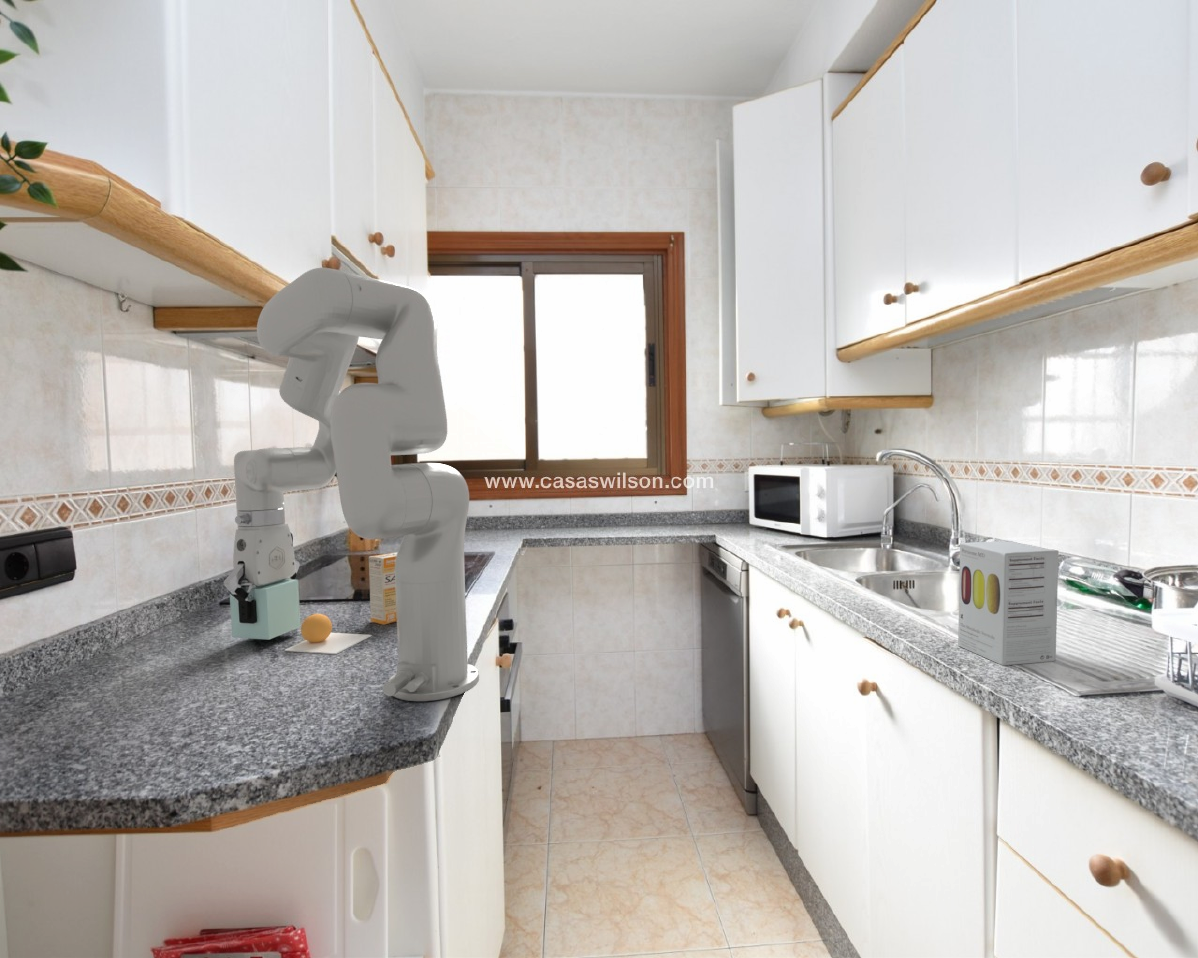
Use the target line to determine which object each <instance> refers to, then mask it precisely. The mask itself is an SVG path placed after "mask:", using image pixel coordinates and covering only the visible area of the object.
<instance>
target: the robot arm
mask: <svg viewBox="0 0 1198 958" xmlns="http://www.w3.org/2000/svg"><path fill="white" fill-rule="evenodd" d="M436 314H437V313H436V312H435V308H434V305H433V304H432V302H431V300H430V299H429V298H428V297H427V296H426V294H424V292H421V291H419V290H418V289H415V288H414V287H413V288H412V287H409V286H406V285H402V284H399V283H394V282H390V281H386V280H382V279H378V278H373V277H369V276H364V275H360V274H357V273H352V272H348V271H344V270H341V269H340V270H339V269H337V268H336V269H335V268H329V267H315V268H312V269H309V270H307V271H306V272H304V273H302V274H301V275H300V276H298V277H297V278H295V279H294V280H293V281H292V282H290V283H289V284H287V285H285V287H283V288H281V289H280V290H279V291H278V292H276V293H275V294H274V295H273V296H272V297H271V298H270V299H269V300H268V301H267V302H266V304H264V306H263V308H262V310H261V312H260V313H259V317H258V319H257V323H256V324H257V325H256V336H257V340H258V343H259V344H260V347H261V348H262V350H263V351H265V352H266V353H267V354H269V355H272V356H276V357H277V356H278V357H286V358H288V362H287V365H286V368H285V370H284V373H283V378H282V380H281V383H280V385H279V390H278V391H279V396H280V397H281V399H282V401H283V402H284V403H285V404H286V405H288V406H289V407H290V408H291V409H294V410H295V411H297V412H298V413H301V414H303V415H305V416H307V417H310V418H312V419H314V420H315V421H318V432H317V435H316V436H315V440H314V443H313V445H312V447H309V446H308V447H307V446H305V447H304V446H303V447H276V448H274V447H273V448H271V447H270V448H268V447H267V448H260V449H251V450H250V449H249V450H242V451H238V452H236V453H235V455H234V457H233V469H234V470H233V471H234V487H235V488H234V489H235V491H234V492H235V505H236V516H235V517H234V522H235V524H237V525H236V526H237V529H235V535H234V542H233V570H232V571H231V572H230V574H229V575H228V576H227V578H225V579H224V581H223V585H224V586H225V588H226V589H227V590H228V591H229V595H230V594H231V595H232V596H233V597H234V599H235V600H236V601H238V607H239V622H240V623H250V624H254V623H256V622H257V612H256V600H252V599H253V597H254V594H255V589H256V588H257V586H263V585H267V584H270V583H273V582H277V581H280V580H286V579H292V580H296V579H297V573H298V571H299V569H300V566H301V565H300V562H299V561H297V560H296V558H295V557H296V556H295V550H294V543H293V538H292V534H291V529H290V525H289V524H288V523H286V514H285V496H284V493H287V492H294V491H295V492H296V491H307V490H309V491H310V490H318V489H319V490H320V489H322V488H324V487H326V486H327V485H329V483H331V482H332V480H333V479H334V477H335V475H336V480H337V486H338V487H337V488H338V493H339V499H340V505H341V509H342V510H341V511H342V514H343V517H344V519H345V522H346V524H347V526H348V527H349V529H350V530H351V531H352V533H354V534H355V535H356V536H358V537H359V538H362V539H366V540H381V539H382V540H383V539H390V538H396V537H402V536H403V537H402V538H401V541H400V545H399V547H398V550H397V555H396V560H395V590H396V613H397V621H396V630H397V631H396V635H397V657H398V661H397V663H396V673H395V674H393V675H392V676H391V677H390V678H389V679H388V681H386V682H385V683H383V685H382V692H383V693H384V695H385V696H386V697H394V698H396V699H398V700H402V701H407V702H431V701H440V700H445V699H449V698H453V697H456V696H459V695H462V694H464V693H467V692H469V691H470V690H472V689H473V688H474V687H476V685H478V683H479V681H480V672H479V670H478V668H477V667H475V666H474V665H472V664H469V663H468V662H469V661H468V635H467V634H468V633H467V609H466V584H465V583H466V579H465V578H466V577H465V538H466V537H465V535H466V525H467V522H468V521H467V520H468V514H469V507H470V491H469V486H468V484H467V481H466V479H465V477H464V476H463V475H462V473H460V471H458V470H457V469H456V468H454V467H452V466H450V465H447V464H443V463H438V462H421V463H420V462H417V463H403V464H392V458H391V457H392V456H401V455H403V456H405V455H407V456H408V455H420V454H427V453H432V452H435V451H437V450H438V449H441V448H442V446H443V445H444V444H445V442H446V440H447V437H448V436H447V435H448V419H447V410H446V403H445V397H444V396H445V395H444V390H443V383H442V376H441V369H440V366H439V359H438V345H437V344H438V343H437V341H438V324H437V323H438V320H437V315H436ZM360 337H361V338H367V339H376V340H381V341H380V344H379V345H378V349H377V351H376V356H375V368H376V373H377V382H378V383H376V382H375V383H374V382H359V383H354V384H351V385H348V386H346V387H345V388H344V389H343V390H341V389H342V387H343V384H344V381H345V379H346V376H347V373H348V370H349V368H350V365H351V362H352V360H353V357H354V354H355V351H356V348H357V346H358V341H359V338H360ZM246 587H249V589H248V591H247V592H246V591H245V590H244V588H246Z"/></svg>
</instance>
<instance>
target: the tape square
mask: <svg viewBox="0 0 1198 958" xmlns="http://www.w3.org/2000/svg"><path fill="white" fill-rule="evenodd" d="M370 637H372V634H360V633H346V632H345V633H344V632H331V633H330V635H329V636H328V637H327V638H326V639H325V640H324V641H322V642H318V643H312V642H309V641H307V640H303V641H301V642H298V643H297V644H294V645H292V646H290V647H288V648H286V649H284V651H285V652H295V653H296V652H298V653H311V654H324V655H325V654H326V655H337V654H339V653H341V652H343V651H345V650H348V649H349V648H351V647H354V646H356V645H357V644H359V643H361V642H363V641H365V640H367V639H369V638H370Z"/></svg>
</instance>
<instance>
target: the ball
mask: <svg viewBox="0 0 1198 958" xmlns="http://www.w3.org/2000/svg"><path fill="white" fill-rule="evenodd" d="M332 630H333V623H332V621H331V620H330V618H329V617H328V615H325V614H322V613H313V614H311V615H309V616H307V617H306V618H305V619H304V620H303V622H302V624H301V625H300V632H301V636H302V637H303V639H304V641H306V640H307V641H309V642H312V643H318V642H322V641H324V640H325V639H326V638H327V637H328V636H329V635H330V633H332Z"/></svg>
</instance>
